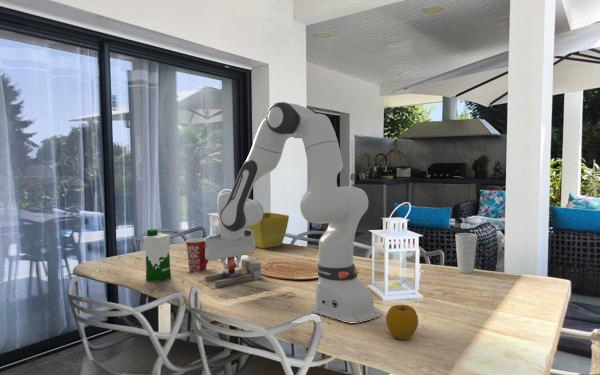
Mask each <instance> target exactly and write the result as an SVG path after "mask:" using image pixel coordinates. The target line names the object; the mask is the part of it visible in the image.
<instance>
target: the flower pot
mask: <svg viewBox="0 0 600 375" xmlns="http://www.w3.org/2000/svg"><path fill="white" fill-rule="evenodd" d="M289 218H290V215H288V214H280V213H277V212H263V218H262V220H261V221H260V222H259V223H257V224H255V225H252V226H249V227H245V229H249V230H252V231H253V236H252V237H253V238H254V240H255V248H256V247H257V248H260V249H267V248H269V249H270V248H274V247H280V246H282V245H283V242H284V239H285V236H286V233H287V230H288V224H289Z"/></svg>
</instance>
